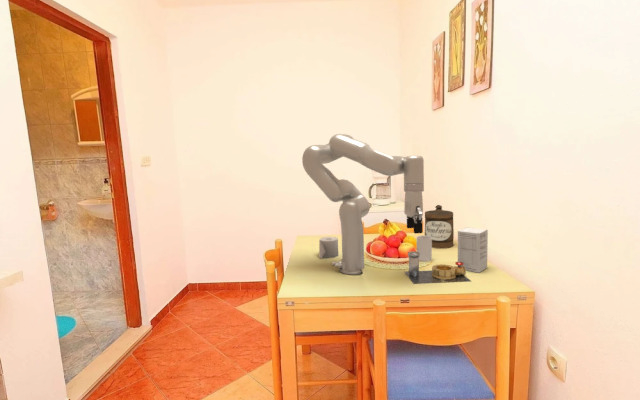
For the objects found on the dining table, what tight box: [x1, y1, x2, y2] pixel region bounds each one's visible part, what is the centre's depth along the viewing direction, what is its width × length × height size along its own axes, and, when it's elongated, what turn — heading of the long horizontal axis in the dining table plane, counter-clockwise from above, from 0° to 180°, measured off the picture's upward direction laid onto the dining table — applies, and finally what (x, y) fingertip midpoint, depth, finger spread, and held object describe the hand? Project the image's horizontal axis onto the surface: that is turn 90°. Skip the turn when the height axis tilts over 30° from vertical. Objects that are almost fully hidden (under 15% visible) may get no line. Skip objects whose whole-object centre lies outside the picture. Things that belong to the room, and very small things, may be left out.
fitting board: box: [404, 261, 472, 285], centre depth 138 cm, size 22×14×7 cm, turn 91°
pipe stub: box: [407, 250, 420, 276], centre depth 141 cm, size 5×5×9 cm
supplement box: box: [457, 227, 489, 274], centre depth 150 cm, size 10×9×17 cm
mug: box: [416, 235, 433, 262], centre depth 162 cm, size 10×7×12 cm, turn 161°
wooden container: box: [424, 204, 455, 249], centre depth 189 cm, size 15×15×22 cm
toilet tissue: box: [318, 236, 339, 260], centre depth 176 cm, size 9×13×9 cm
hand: (414, 230), depth 139 cm, fingers open, 9 cm apart
